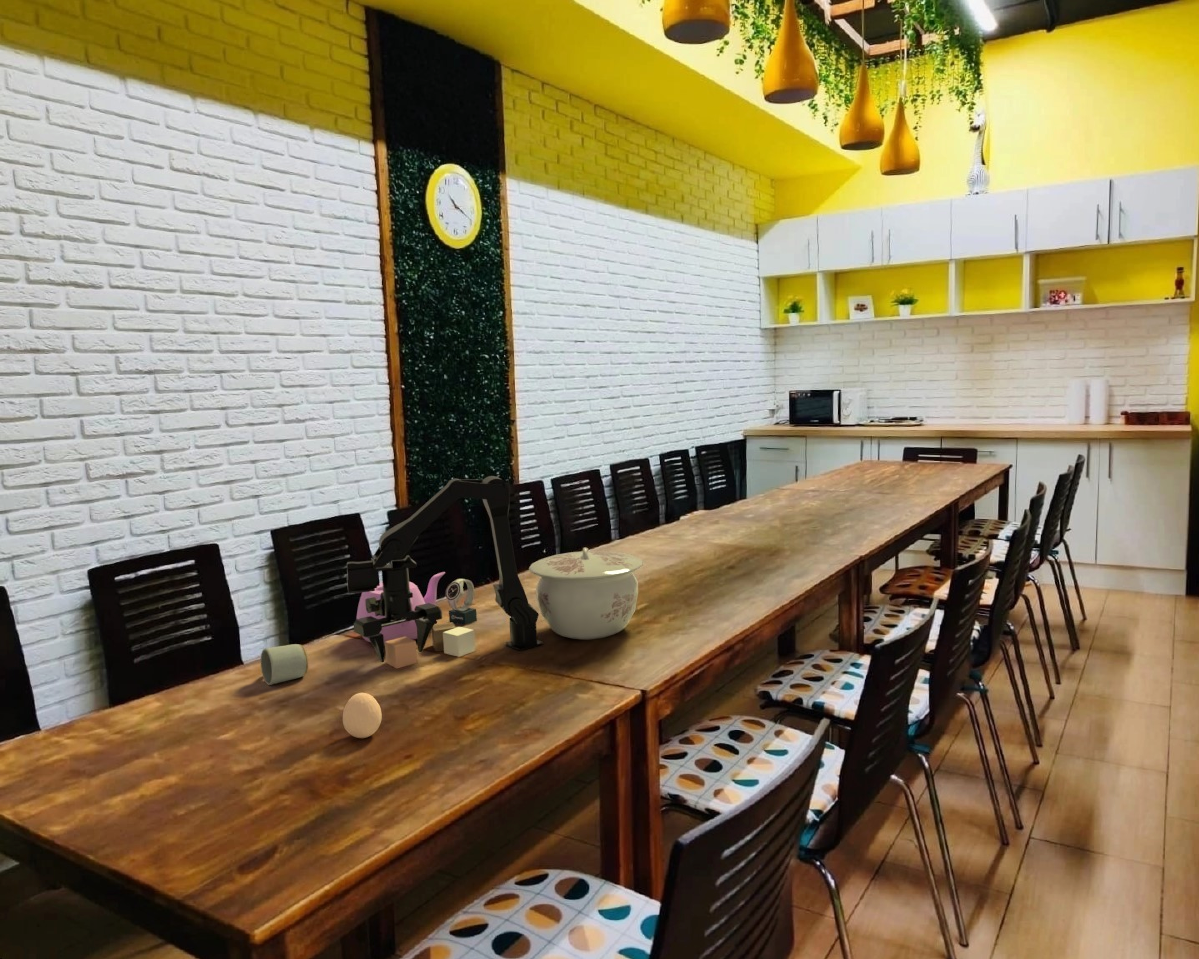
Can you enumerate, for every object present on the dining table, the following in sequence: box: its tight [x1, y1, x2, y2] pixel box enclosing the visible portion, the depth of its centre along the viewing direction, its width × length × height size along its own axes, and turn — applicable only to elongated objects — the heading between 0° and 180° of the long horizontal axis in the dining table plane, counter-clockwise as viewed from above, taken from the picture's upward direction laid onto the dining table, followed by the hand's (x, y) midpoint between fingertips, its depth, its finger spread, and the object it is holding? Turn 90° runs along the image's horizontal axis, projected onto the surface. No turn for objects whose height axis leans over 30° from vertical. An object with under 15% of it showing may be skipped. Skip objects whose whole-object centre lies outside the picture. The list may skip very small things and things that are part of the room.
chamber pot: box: [528, 547, 644, 641], centre depth 207 cm, size 28×28×21 cm
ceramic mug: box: [260, 643, 309, 686], centre depth 185 cm, size 11×8×8 cm
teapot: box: [356, 571, 446, 647], centre depth 210 cm, size 23×21×15 cm
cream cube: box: [443, 626, 476, 658], centre depth 197 cm, size 5×5×5 cm
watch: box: [445, 578, 478, 626], centre depth 221 cm, size 6×8×11 cm
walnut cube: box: [431, 622, 457, 652], centre depth 201 cm, size 5×5×5 cm
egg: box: [342, 692, 383, 739], centre depth 152 cm, size 7×7×8 cm
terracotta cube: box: [384, 637, 418, 669], centre depth 191 cm, size 5×5×5 cm
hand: (401, 656), depth 191 cm, fingers open, 9 cm apart
